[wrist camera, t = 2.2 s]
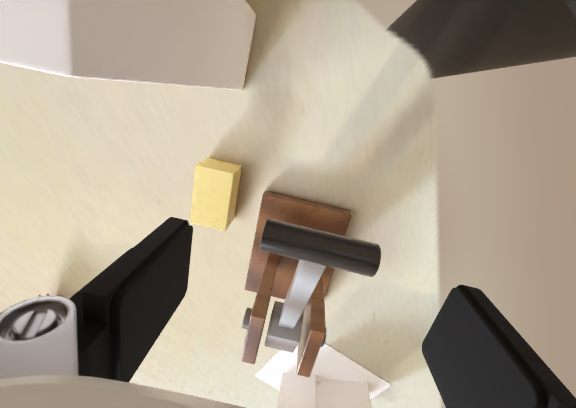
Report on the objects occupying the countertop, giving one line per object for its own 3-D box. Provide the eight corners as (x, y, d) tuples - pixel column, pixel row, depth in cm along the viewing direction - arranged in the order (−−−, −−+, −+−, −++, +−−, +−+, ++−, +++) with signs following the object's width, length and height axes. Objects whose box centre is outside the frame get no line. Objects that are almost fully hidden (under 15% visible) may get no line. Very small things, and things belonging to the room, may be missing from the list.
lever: (271, 203, 12) (257, 247, 11) (379, 229, 12) (382, 277, 11) (254, 310, 22) (245, 341, 20) (314, 324, 22) (311, 357, 20)
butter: (207, 157, 27) (195, 164, 25) (242, 165, 27) (233, 173, 25) (201, 211, 30) (189, 222, 27) (234, 218, 30) (225, 231, 27)
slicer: (264, 190, 28) (228, 258, 16) (350, 210, 28) (375, 294, 16) (246, 283, 33) (207, 389, 21) (320, 300, 33) (323, 418, 21)
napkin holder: (392, 384, 36) (405, 433, 31) (338, 424, 40) (342, 473, 35) (300, 328, 34) (298, 370, 29) (253, 376, 38) (243, 421, 33)
